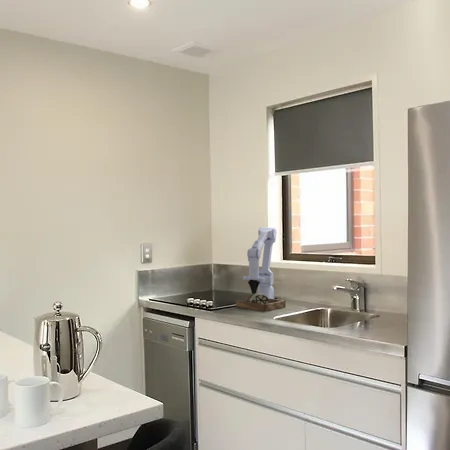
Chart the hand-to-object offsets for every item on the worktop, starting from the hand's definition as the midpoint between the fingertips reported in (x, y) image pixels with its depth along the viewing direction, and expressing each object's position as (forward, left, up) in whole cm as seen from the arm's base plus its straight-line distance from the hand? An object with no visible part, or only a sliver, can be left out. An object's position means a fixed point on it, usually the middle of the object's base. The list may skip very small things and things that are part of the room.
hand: (253, 293), depth 294 cm
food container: (-1, 0, -2) cm, 3 cm away
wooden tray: (0, +4, -7) cm, 8 cm away
